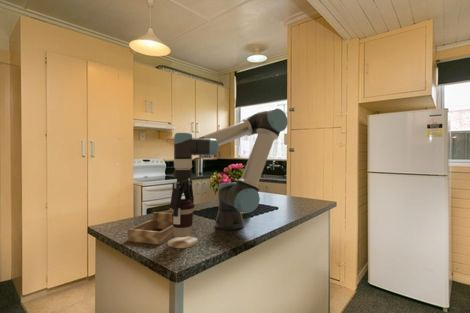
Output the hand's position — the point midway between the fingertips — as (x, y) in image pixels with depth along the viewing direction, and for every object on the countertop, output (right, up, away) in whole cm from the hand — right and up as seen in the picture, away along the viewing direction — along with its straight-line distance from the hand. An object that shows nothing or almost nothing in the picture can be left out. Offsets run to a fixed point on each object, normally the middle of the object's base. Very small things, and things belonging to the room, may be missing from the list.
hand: (182, 220), depth 110 cm
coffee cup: (0, -6, 0) cm, 6 cm away
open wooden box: (-14, -9, +10) cm, 19 cm away
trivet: (0, -9, 0) cm, 9 cm away
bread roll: (-13, -9, +44) cm, 47 cm away
